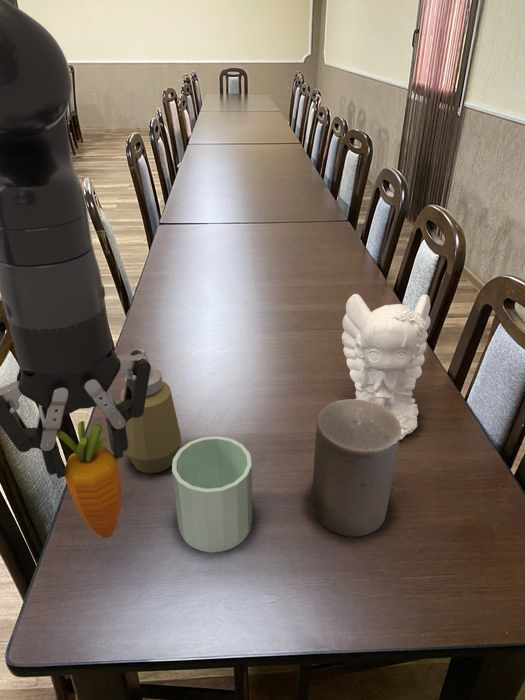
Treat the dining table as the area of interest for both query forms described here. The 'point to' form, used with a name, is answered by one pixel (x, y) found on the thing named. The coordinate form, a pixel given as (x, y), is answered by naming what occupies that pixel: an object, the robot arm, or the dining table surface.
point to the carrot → (93, 480)
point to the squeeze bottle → (153, 427)
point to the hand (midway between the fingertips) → (88, 461)
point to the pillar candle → (354, 466)
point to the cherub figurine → (387, 354)
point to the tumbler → (213, 493)
